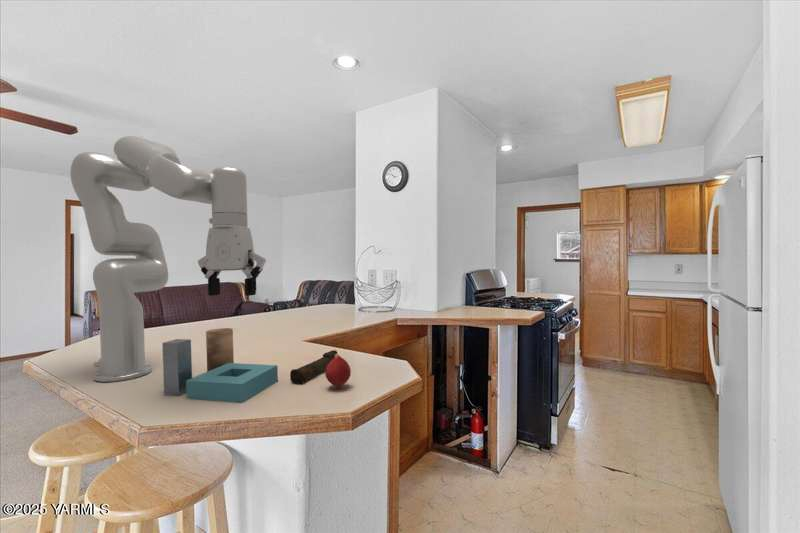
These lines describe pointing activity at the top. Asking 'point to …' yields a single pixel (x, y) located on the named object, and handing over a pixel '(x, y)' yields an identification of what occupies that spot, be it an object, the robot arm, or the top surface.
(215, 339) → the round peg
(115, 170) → the robot arm
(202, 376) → the socket block
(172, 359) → the square peg
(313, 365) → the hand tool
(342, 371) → the onion
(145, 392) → the top surface
